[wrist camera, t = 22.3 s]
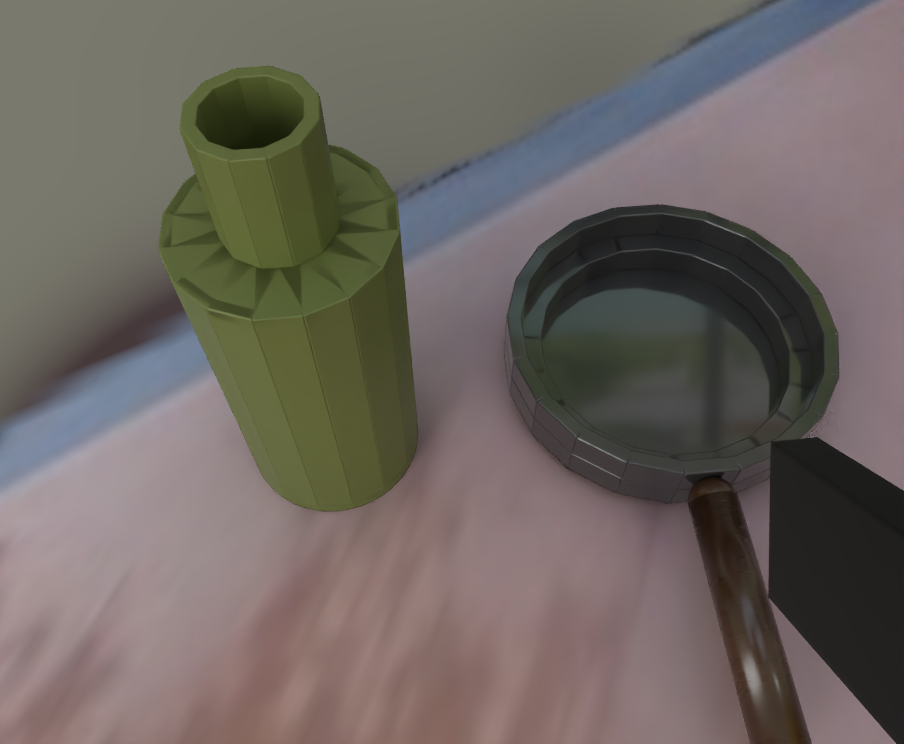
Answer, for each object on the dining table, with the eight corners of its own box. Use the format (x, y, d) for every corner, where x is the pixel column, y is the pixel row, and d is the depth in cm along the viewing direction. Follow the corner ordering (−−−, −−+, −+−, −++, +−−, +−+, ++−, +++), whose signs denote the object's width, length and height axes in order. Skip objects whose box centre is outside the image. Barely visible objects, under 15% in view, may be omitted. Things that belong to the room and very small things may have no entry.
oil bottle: (412, 361, 37) (381, 16, 22) (423, 503, 33) (396, 202, 19) (257, 373, 36) (126, 33, 22) (251, 518, 33) (90, 224, 18)
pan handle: (724, 487, 32) (737, 466, 30) (809, 781, 26) (831, 774, 25) (677, 491, 32) (688, 470, 30) (753, 787, 26) (771, 780, 25)
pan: (759, 242, 40) (781, 194, 38) (854, 492, 33) (890, 456, 31) (488, 262, 40) (490, 215, 37) (527, 521, 33) (533, 487, 30)
